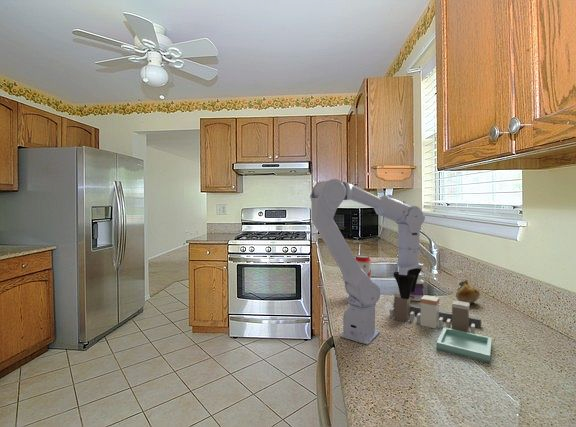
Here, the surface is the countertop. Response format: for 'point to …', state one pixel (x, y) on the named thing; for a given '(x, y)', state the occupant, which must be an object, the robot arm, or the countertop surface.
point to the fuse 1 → (401, 307)
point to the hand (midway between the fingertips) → (407, 294)
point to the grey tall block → (430, 311)
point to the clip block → (440, 317)
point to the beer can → (364, 264)
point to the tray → (465, 344)
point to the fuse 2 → (460, 316)
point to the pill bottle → (418, 290)
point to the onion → (467, 292)
